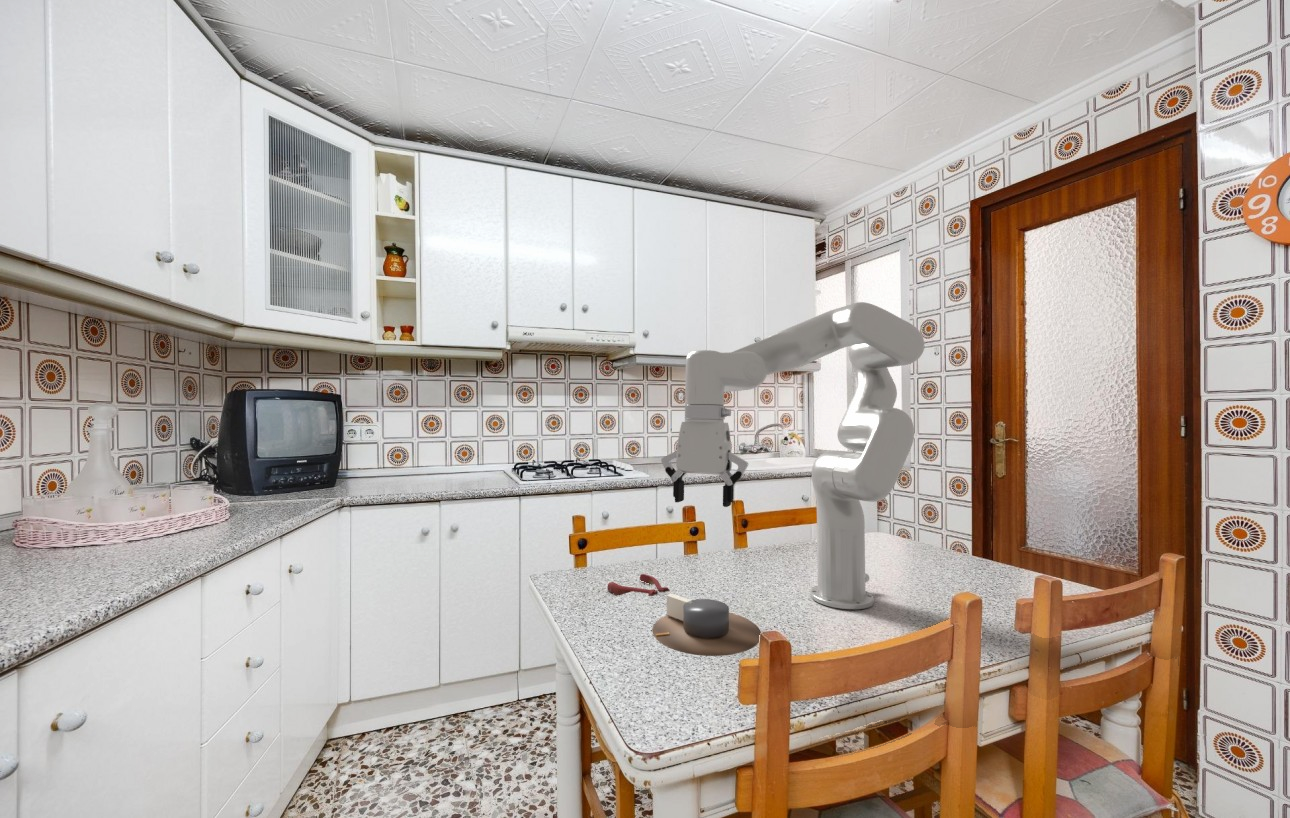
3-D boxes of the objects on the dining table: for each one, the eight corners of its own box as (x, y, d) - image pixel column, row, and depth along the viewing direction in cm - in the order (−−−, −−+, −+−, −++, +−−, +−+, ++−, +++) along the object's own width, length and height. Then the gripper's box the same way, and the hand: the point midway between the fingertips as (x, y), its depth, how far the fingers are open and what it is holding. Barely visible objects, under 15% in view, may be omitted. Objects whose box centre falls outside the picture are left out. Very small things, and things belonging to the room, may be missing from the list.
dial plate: (699, 609, 101) (699, 601, 101) (782, 639, 87) (782, 629, 87) (630, 638, 88) (630, 628, 88) (715, 678, 74) (714, 666, 74)
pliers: (662, 620, 97) (662, 606, 97) (604, 592, 113) (604, 581, 113) (704, 606, 104) (704, 593, 104) (644, 582, 120) (644, 571, 120)
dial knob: (738, 627, 88) (738, 607, 88) (709, 642, 82) (709, 620, 82) (683, 608, 97) (683, 589, 97) (654, 619, 92) (654, 599, 92)
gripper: (753, 415, 96) (751, 505, 95) (670, 415, 104) (668, 497, 103) (743, 414, 89) (741, 510, 89) (655, 414, 97) (653, 502, 96)
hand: (702, 503), depth 96 cm, fingers open, 9 cm apart
